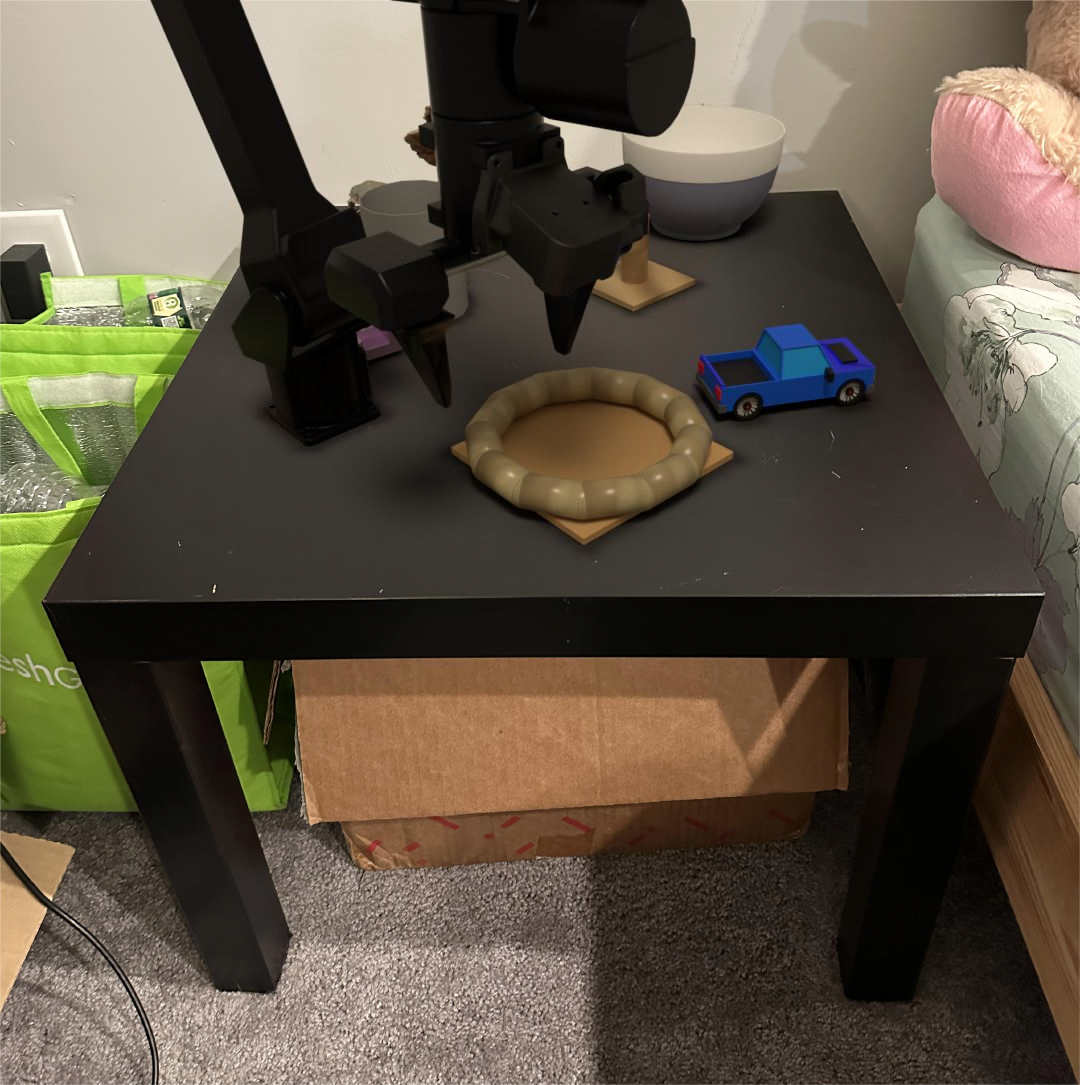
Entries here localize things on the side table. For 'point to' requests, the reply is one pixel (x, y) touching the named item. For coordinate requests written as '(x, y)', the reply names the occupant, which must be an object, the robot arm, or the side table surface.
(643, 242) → the ring toss peg
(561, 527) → the mat
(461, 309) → the cup
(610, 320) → the side table surface
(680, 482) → the segmented tan ring
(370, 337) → the purple jagged faceted chunk
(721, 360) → the toy car
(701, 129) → the bowl
